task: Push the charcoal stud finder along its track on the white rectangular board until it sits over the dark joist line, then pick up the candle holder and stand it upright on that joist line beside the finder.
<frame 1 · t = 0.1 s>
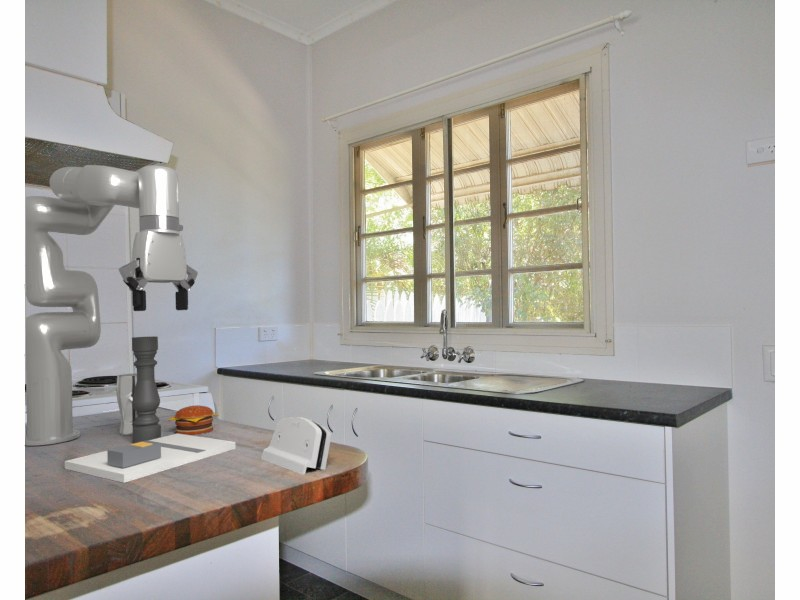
hand: (161, 310, 111), 31 cm above the table, tool pointing down, fingers open, 9 cm apart
candle holder: (147, 441, 130), on the table
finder: (134, 453, 106), point 3 cm above the table, slide at 0.0 cm
hamburger: (194, 432, 139), on the table
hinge: (297, 464, 108), on the table
beer glass: (132, 433, 139), on the table
white rectangular board: (154, 458, 114), on the table
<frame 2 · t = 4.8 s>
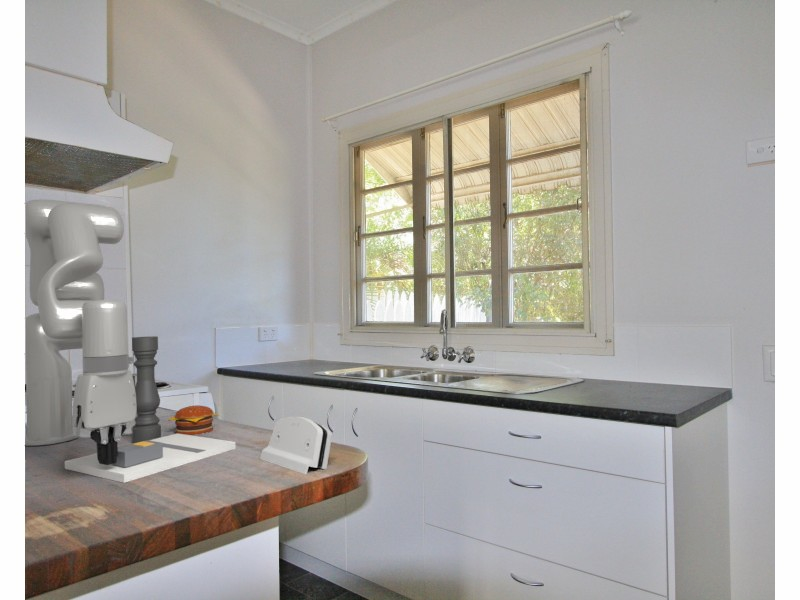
hand: (107, 463, 101), 3 cm above the table, tool pointing down, fingers closed
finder: (136, 452, 106), point 3 cm above the table, slide at 0.4 cm, touching gripper
everything else where it was.
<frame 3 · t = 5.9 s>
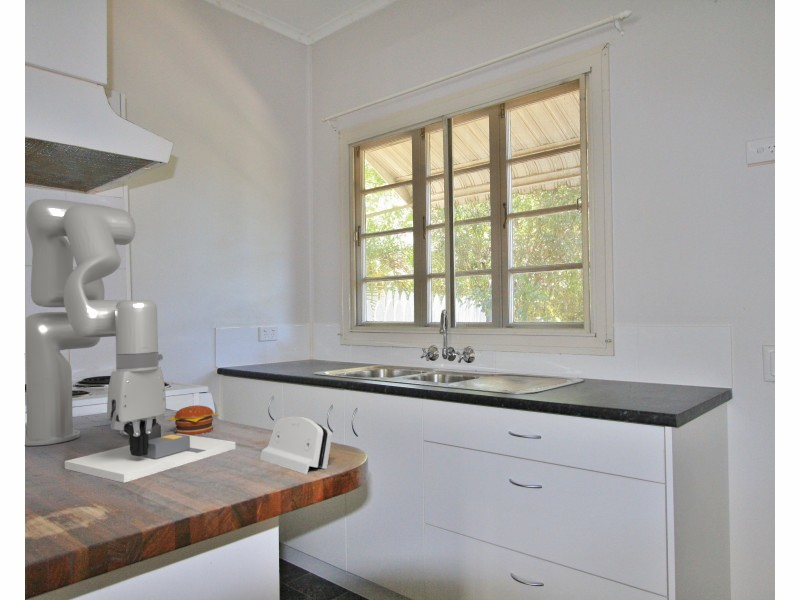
hand: (139, 454, 107), 3 cm above the table, tool pointing down, fingers closed
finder: (165, 445, 112), point 3 cm above the table, slide at 6.8 cm, touching gripper
everything else where it was.
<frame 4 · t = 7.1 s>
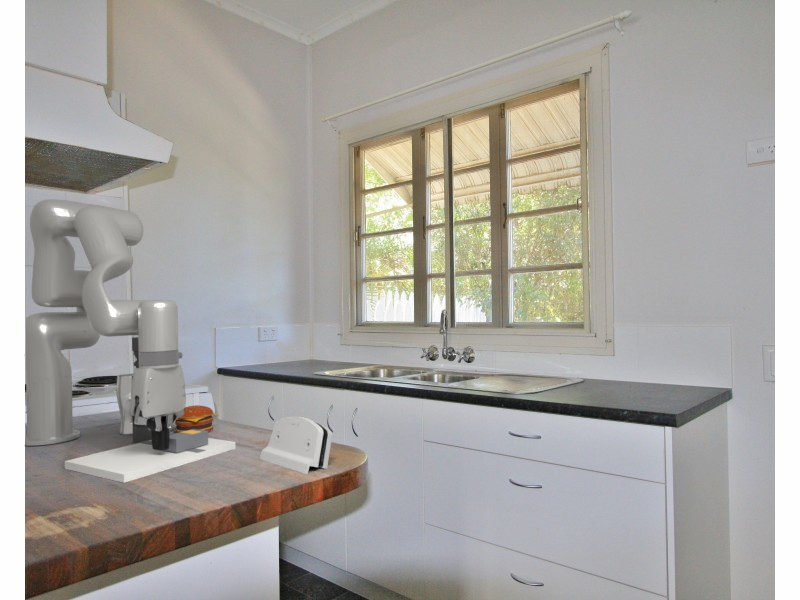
hand: (160, 448, 111), 3 cm above the table, tool pointing down, fingers closed
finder: (185, 440, 116), point 3 cm above the table, slide at 11.6 cm, touching gripper
everything else where it was.
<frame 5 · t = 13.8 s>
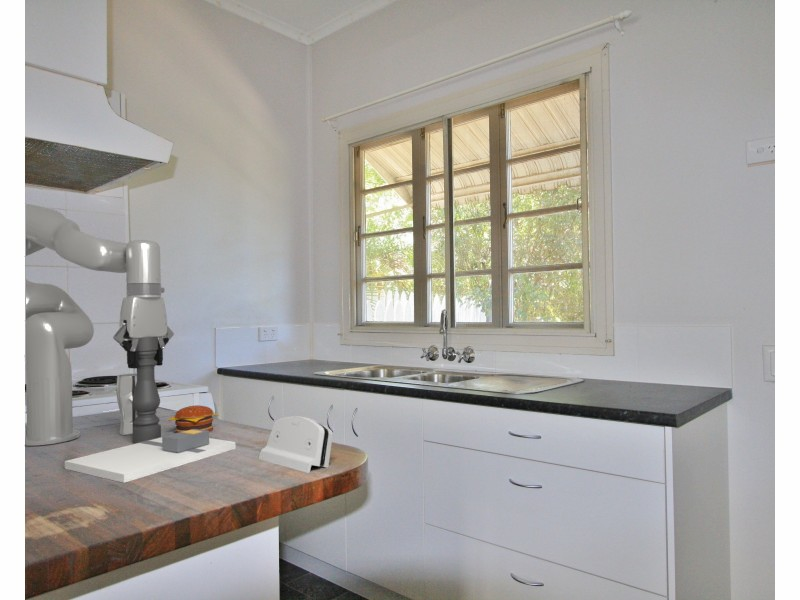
hand: (145, 366, 130), 18 cm above the table, tool pointing down, fingers closed on candle holder, 5 cm apart
candle holder: (147, 441, 130), on the table, touching gripper
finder: (186, 439, 116), point 3 cm above the table, slide at 11.8 cm
everything else where it was.
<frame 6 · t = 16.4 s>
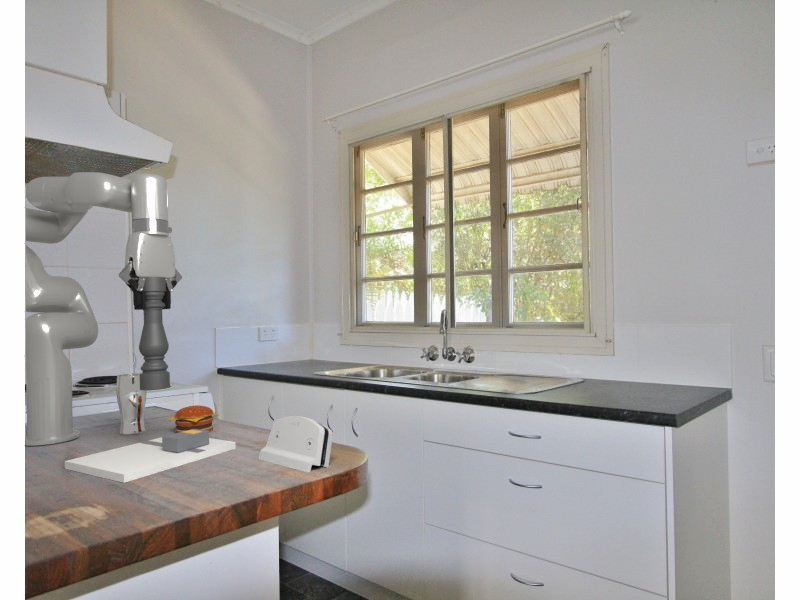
hand: (152, 308, 122), 32 cm above the table, tool pointing down, fingers closed on candle holder, 5 cm apart
candle holder: (155, 389, 122), point 14 cm above the table, touching gripper
everything else where it was.
when the fingers open (21 cm above the table, at t = 19.0 s): candle holder drops 1 cm, resting on white rectangular board.
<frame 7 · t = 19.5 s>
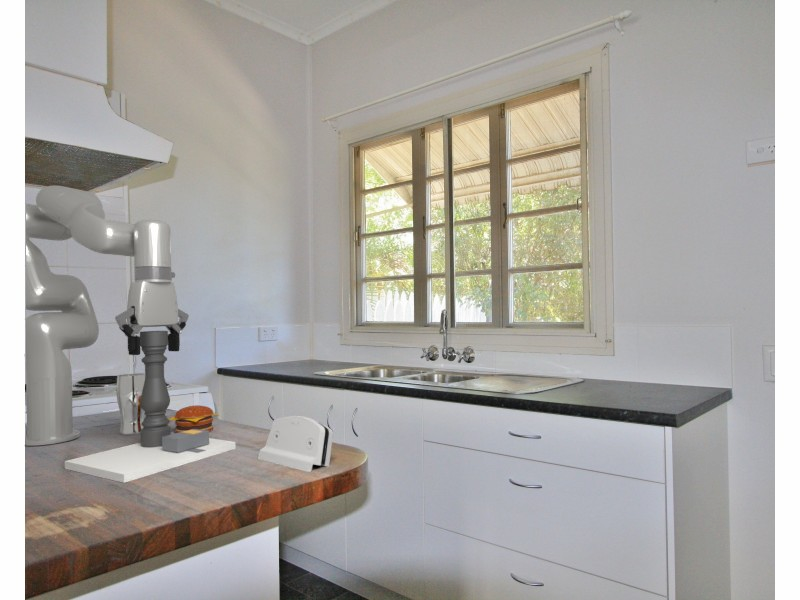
hand: (154, 352, 120), 22 cm above the table, tool pointing down, fingers open, 9 cm apart
candle holder: (156, 444, 120), point 1 cm above the table, touching white rectangular board
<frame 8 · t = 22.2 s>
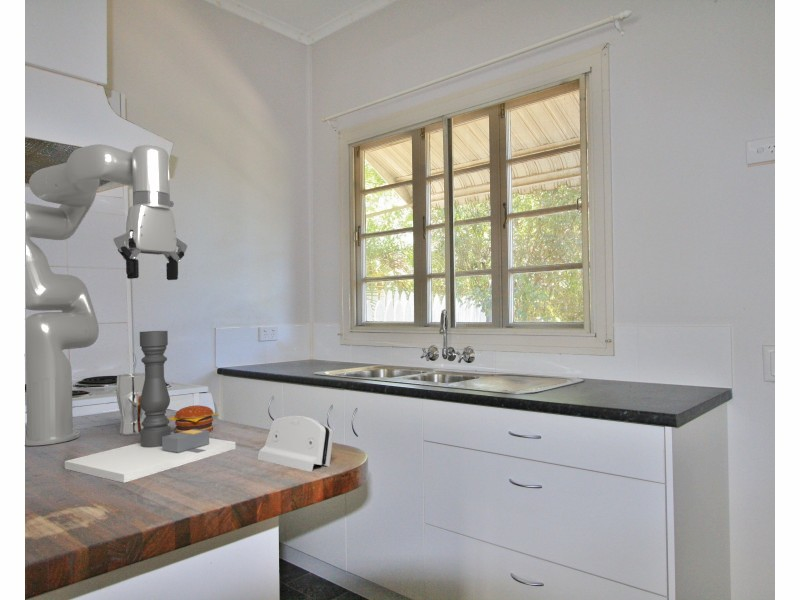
hand: (153, 279, 120), 38 cm above the table, tool pointing down, fingers open, 9 cm apart
at the end: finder slide at 11.8 cm; candle holder 0.2 cm from the target spot, point 1.4 cm above the table; candle holder tilted 0° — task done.
